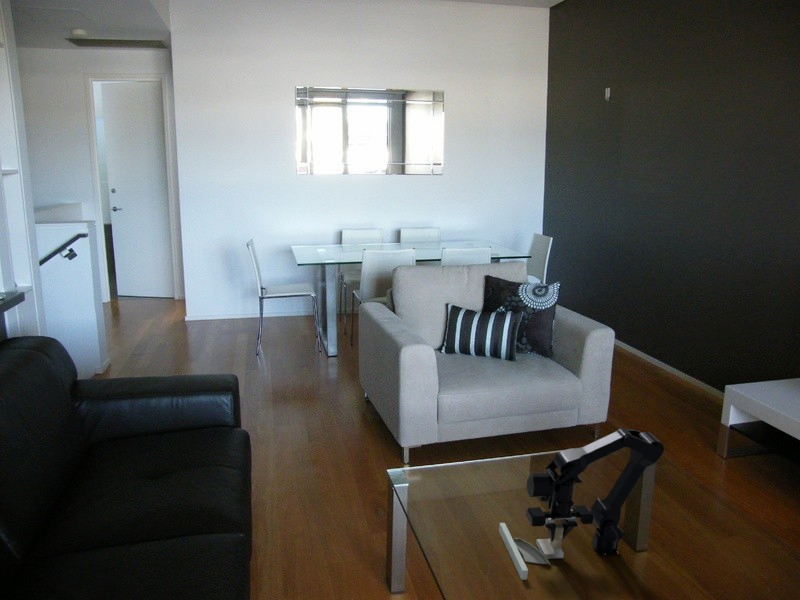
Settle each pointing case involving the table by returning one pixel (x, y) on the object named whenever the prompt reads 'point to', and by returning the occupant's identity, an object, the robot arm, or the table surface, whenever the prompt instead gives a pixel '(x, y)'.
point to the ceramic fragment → (530, 552)
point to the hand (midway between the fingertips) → (556, 540)
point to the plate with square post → (552, 544)
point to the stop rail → (513, 551)
